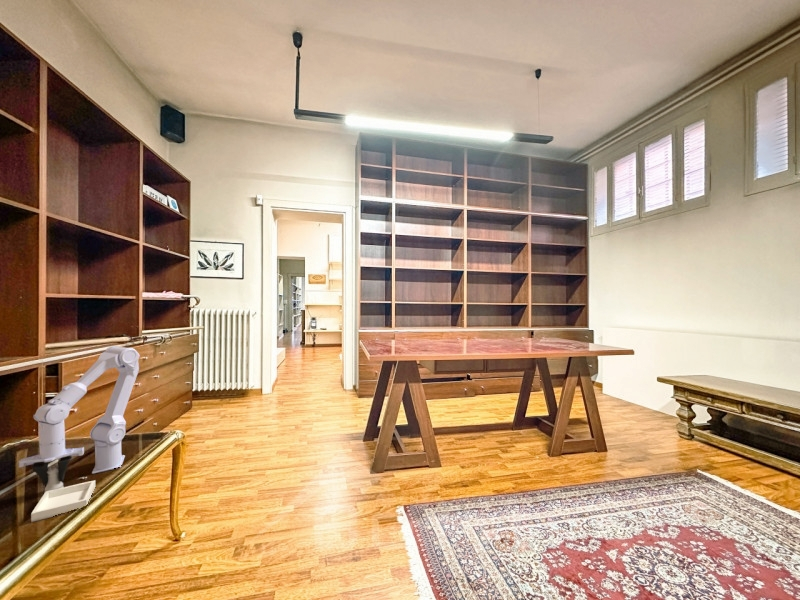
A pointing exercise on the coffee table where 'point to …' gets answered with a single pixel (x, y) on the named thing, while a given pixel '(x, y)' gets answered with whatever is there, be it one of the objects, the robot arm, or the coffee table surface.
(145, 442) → the coffee table surface
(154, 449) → the coffee table surface
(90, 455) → the coffee table surface
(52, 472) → the rook chess piece
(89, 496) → the tray
